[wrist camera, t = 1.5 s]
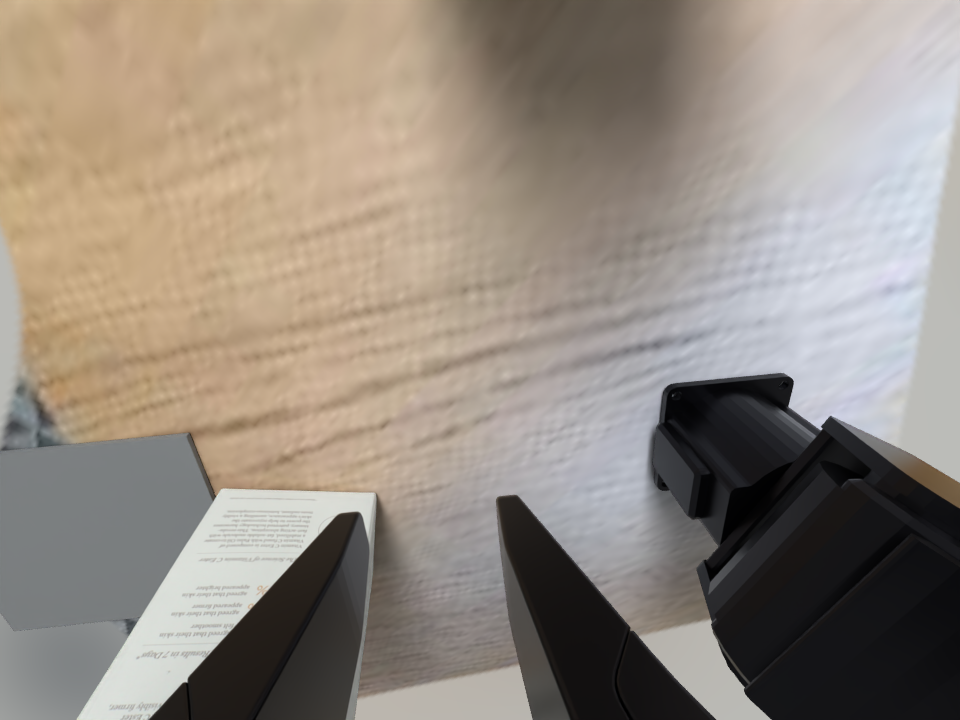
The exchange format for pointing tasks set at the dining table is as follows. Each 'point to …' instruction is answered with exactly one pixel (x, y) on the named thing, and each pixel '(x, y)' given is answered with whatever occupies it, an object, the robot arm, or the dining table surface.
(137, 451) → the mat
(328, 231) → the dining table surface
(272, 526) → the small box
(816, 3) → the dining table surface
